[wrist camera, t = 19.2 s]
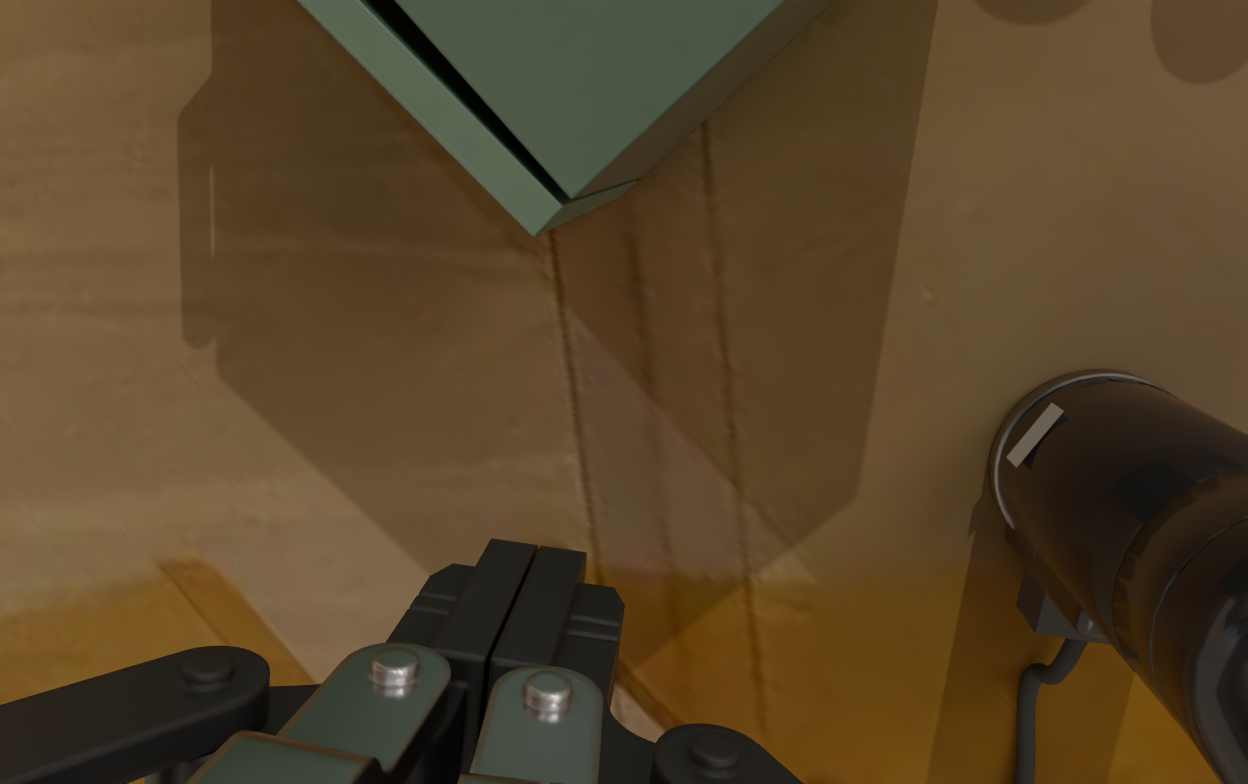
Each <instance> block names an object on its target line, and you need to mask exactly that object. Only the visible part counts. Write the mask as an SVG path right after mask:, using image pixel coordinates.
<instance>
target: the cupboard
mask: <svg viewBox="0 0 1248 784" xmlns="http://www.w3.org/2000/svg"><path fill="white" fill-rule="evenodd" d="M394 1H395V2H396V3H397V4H398V5H399V6H400V7H401V8H402V10H403V11H404V12H405V13H406V14H407V15H408V16H409V17H410V19H411V20H412V21H413V22H414V23H415V24H416V25H417V27H418V28H419V29H420V30H421V31H422V32H423V33H424V34H425V36H426V37H427V38H428V39H429V40H430V41H431V42H432V43H433V45H434V46H435V47H436V48H437V49H438V50H439V51H440V52H441V54H442V55H443V56H444V57H445V58H446V59H447V60H448V61H449V63H450V64H451V65H452V66H453V67H454V68H455V69H456V70H457V72H458V73H459V74H460V75H461V76H462V77H463V78H464V79H465V81H466V82H467V83H468V84H469V85H470V86H471V87H472V89H473V90H474V91H475V92H476V93H477V94H478V95H479V96H480V98H481V99H482V100H483V101H484V102H485V103H486V104H487V105H488V107H489V108H490V109H491V110H492V111H493V112H494V113H495V114H496V116H497V117H498V118H499V119H500V120H501V121H502V122H503V123H504V125H505V126H506V127H507V128H508V129H509V130H510V131H511V132H512V134H513V135H514V136H515V137H516V138H517V139H518V140H519V141H520V143H521V144H522V145H523V146H524V147H525V148H526V149H527V151H528V152H529V153H530V154H531V155H532V156H533V157H534V158H535V160H536V161H537V162H538V163H539V164H540V165H541V166H542V167H543V169H544V170H545V171H546V172H547V173H548V174H549V175H550V176H551V178H552V179H553V180H554V181H555V182H556V183H557V184H558V185H559V187H560V188H561V189H562V190H563V191H564V192H565V193H566V194H567V196H568V197H569V198H571V199H574V198H577V197H580V196H583V195H586V194H589V193H593V192H596V191H599V190H602V189H605V188H609V187H612V186H615V185H618V184H621V183H625V182H628V181H631V180H634V179H638V178H641V177H644V176H645V175H646V174H647V173H648V172H649V171H650V170H651V169H652V168H653V167H655V166H656V165H657V164H658V163H659V162H660V161H661V160H662V159H663V158H664V157H665V156H666V155H668V154H669V153H670V152H671V151H672V150H673V149H674V148H675V147H676V146H677V145H678V144H680V143H681V142H682V141H683V140H684V139H685V138H686V137H687V136H688V135H689V134H690V133H691V132H693V131H694V130H695V129H696V128H697V127H698V126H699V125H700V124H701V123H702V122H703V121H705V120H706V119H707V118H708V117H709V116H710V115H711V114H712V113H713V112H714V111H715V110H716V109H718V108H719V107H720V106H721V105H722V104H723V103H724V102H725V101H726V100H727V99H728V98H730V97H731V96H732V95H733V94H734V93H735V92H736V91H737V90H738V89H739V88H740V87H741V86H743V85H744V84H745V83H746V82H747V81H748V80H749V79H750V78H751V77H752V76H753V75H755V74H756V73H757V72H758V71H759V70H760V69H761V68H762V67H763V66H764V65H765V64H766V63H768V62H769V61H770V60H771V59H772V58H773V57H774V56H775V55H776V54H777V53H778V52H780V51H781V50H782V49H783V48H784V47H785V46H786V45H787V44H788V43H789V42H790V41H791V40H793V39H794V38H795V37H796V36H797V35H798V34H799V33H800V32H801V31H802V30H803V29H805V28H806V27H807V26H808V25H809V24H810V23H811V22H812V21H813V20H814V19H815V18H816V17H818V16H819V15H820V14H821V13H822V12H823V11H824V10H825V9H826V8H827V7H828V6H830V5H831V4H832V3H833V2H834V1H835V0H394Z"/></svg>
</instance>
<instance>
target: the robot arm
mask: <svg viewBox="0 0 1248 784" xmlns="http://www.w3.org/2000/svg"><path fill="white" fill-rule="evenodd" d="M989 478H990V485H991V490H992V493H993V497H994V499H995V502H996V504H997V506H998V508H999V510H1000V512H1001V513H1002V515H1003V517H1004V518H1005V519H1006V521H1007V531H1006V535H1005V541H1006V542H1007V544H1008V545H1009V546H1010V548H1011V549H1012V550H1013V551H1014V553H1015V554H1016V555H1017V557H1018V558H1019V559H1020V560H1021V562H1022V563H1023V564H1024V566H1025V567H1026V568H1025V572H1024V576H1023V580H1022V584H1021V588H1020V592H1019V596H1018V600H1017V604H1016V606H1017V607H1018V609H1019V610H1020V612H1021V613H1022V615H1023V616H1024V618H1025V619H1026V620H1027V622H1028V623H1029V625H1030V626H1031V628H1032V629H1033V631H1034V632H1035V633H1036V634H1042V635H1049V636H1055V637H1062V638H1066V639H1065V641H1064V643H1063V645H1062V647H1061V649H1060V651H1059V653H1058V655H1057V656H1056V658H1055V659H1054V661H1053V662H1052V663H1051V664H1050V665H1049V666H1047V665H1045V664H1042V663H1035V664H1032V665H1030V666H1029V667H1028V668H1027V670H1026V671H1025V673H1024V675H1023V677H1022V679H1021V683H1020V686H1019V692H1018V703H1017V765H1016V776H1015V784H1033V779H1034V766H1035V729H1034V717H1035V703H1036V696H1037V692H1038V689H1039V686H1040V684H1041V682H1042V683H1044V684H1048V685H1051V684H1058V683H1060V682H1061V681H1062V680H1063V679H1064V678H1065V677H1066V676H1067V675H1068V674H1069V673H1070V671H1071V670H1072V669H1073V667H1074V666H1075V664H1076V663H1077V661H1078V659H1079V658H1080V656H1081V654H1082V652H1083V650H1084V648H1085V646H1086V644H1087V643H1088V641H1089V642H1095V643H1102V644H1109V645H1112V646H1113V647H1114V648H1115V649H1116V650H1117V652H1118V653H1119V654H1120V655H1121V656H1122V658H1123V659H1124V660H1125V661H1126V662H1127V664H1128V665H1129V666H1130V667H1131V668H1132V670H1133V671H1134V672H1135V673H1136V674H1137V675H1138V676H1139V678H1140V679H1141V680H1142V681H1143V682H1144V684H1145V685H1146V686H1147V687H1148V688H1149V690H1150V691H1151V692H1152V693H1153V694H1154V696H1155V697H1156V698H1157V699H1158V701H1159V702H1160V703H1161V704H1162V705H1163V707H1164V708H1165V709H1166V710H1167V711H1168V713H1169V714H1170V715H1171V716H1172V717H1173V719H1174V720H1175V721H1176V722H1177V724H1178V725H1179V726H1180V727H1181V728H1182V730H1183V731H1184V732H1185V733H1186V734H1187V736H1188V737H1189V738H1190V740H1191V741H1192V742H1193V744H1194V745H1195V746H1196V748H1197V749H1198V750H1199V752H1200V753H1201V755H1202V756H1203V758H1204V759H1205V760H1206V762H1207V763H1208V765H1209V766H1210V768H1211V769H1212V771H1213V772H1214V774H1215V775H1216V777H1217V778H1218V780H1219V781H1220V783H1221V784H1248V434H1246V433H1244V432H1242V431H1240V430H1238V429H1236V428H1235V427H1233V426H1231V425H1229V424H1227V423H1225V422H1223V421H1221V420H1219V419H1217V418H1215V417H1213V416H1211V415H1209V414H1207V413H1205V412H1203V411H1201V410H1199V409H1197V408H1196V407H1194V406H1192V405H1190V404H1188V403H1186V402H1184V401H1182V400H1180V399H1178V398H1177V397H1175V396H1173V395H1172V394H1170V393H1169V392H1167V391H1166V390H1164V389H1163V388H1161V387H1159V386H1157V385H1155V384H1154V383H1152V382H1150V381H1148V380H1146V379H1144V378H1141V377H1139V376H1136V375H1134V374H1130V373H1127V372H1122V371H1117V370H1108V369H1092V370H1083V371H1077V372H1073V373H1069V374H1066V375H1063V376H1060V377H1057V378H1055V379H1053V380H1051V381H1048V382H1046V383H1044V384H1043V385H1041V386H1039V387H1038V388H1036V389H1035V390H1033V391H1032V392H1031V393H1029V394H1028V395H1027V396H1026V397H1024V398H1023V399H1022V400H1021V401H1020V402H1019V403H1018V404H1017V405H1016V406H1015V407H1014V408H1013V410H1012V411H1011V412H1010V413H1009V415H1008V416H1007V417H1006V419H1005V420H1004V422H1003V424H1002V425H1001V427H1000V429H999V431H998V433H997V435H996V438H995V440H994V443H993V447H992V450H991V456H990V464H989ZM586 560H587V553H586V552H580V551H574V550H567V549H560V548H554V547H547V546H540V548H539V549H538V545H533V544H526V543H520V542H513V541H506V540H500V539H493V538H492V539H491V540H490V542H489V544H488V545H487V547H486V549H485V551H484V552H483V554H482V556H481V557H480V559H479V561H478V563H477V564H476V566H475V567H473V566H466V565H460V564H451V565H449V566H448V567H446V568H444V569H442V570H440V571H438V572H437V573H435V574H433V575H431V576H430V577H429V579H428V580H427V582H426V583H425V585H424V586H423V588H422V589H421V590H420V592H419V596H416V598H415V599H414V601H413V602H412V604H411V605H410V609H408V610H407V611H406V613H405V614H404V616H403V617H402V619H401V620H400V622H399V623H398V625H397V626H396V628H395V629H394V631H393V632H392V634H391V635H390V637H389V638H388V640H387V641H386V643H381V644H375V645H371V646H367V647H364V648H361V649H359V650H357V651H355V652H353V653H351V654H350V655H348V656H347V657H346V658H345V659H344V660H343V661H342V662H341V663H340V664H339V665H338V666H337V667H336V669H335V670H334V671H333V672H332V673H331V674H330V675H329V676H328V677H327V679H326V680H325V681H324V682H323V683H322V684H317V685H302V686H273V687H270V668H269V665H268V663H267V662H266V661H265V659H264V658H262V657H261V656H260V655H258V654H256V653H254V652H252V651H250V650H246V649H243V648H238V647H231V646H207V647H199V648H193V649H189V650H185V651H181V652H178V653H175V654H171V655H168V656H164V657H161V658H158V659H154V660H151V661H148V662H144V663H141V664H137V665H134V666H131V667H127V668H124V669H121V670H117V671H114V672H110V673H107V674H104V675H100V676H97V677H94V678H90V679H87V680H83V681H80V682H77V683H73V684H70V685H67V686H63V687H60V688H56V689H53V690H50V691H46V692H43V693H40V694H36V695H33V696H29V697H26V698H23V699H19V700H16V701H13V702H9V703H6V704H2V705H0V784H127V783H130V782H132V781H135V780H137V779H140V778H143V777H145V784H803V783H802V782H801V781H800V780H799V779H798V778H797V777H795V776H794V775H793V774H792V773H791V772H790V771H789V770H787V769H786V768H785V767H784V766H783V765H782V764H781V763H779V762H778V761H777V760H776V759H775V758H774V757H773V756H771V755H770V754H769V753H768V752H767V751H766V750H765V749H763V748H762V747H761V746H760V745H759V744H757V743H756V742H755V741H754V740H752V739H751V738H749V737H747V736H745V735H744V734H742V733H739V732H737V731H735V730H732V729H729V728H726V727H722V726H718V725H711V724H686V725H682V726H678V727H675V728H672V729H670V730H668V731H667V732H665V733H664V734H663V735H662V736H661V737H660V738H659V739H658V741H657V742H656V743H654V742H651V741H648V740H646V739H644V738H642V737H639V736H637V735H635V734H634V733H632V732H630V731H629V730H627V729H626V728H625V727H623V726H622V725H621V724H620V723H619V722H618V721H617V720H616V719H615V718H614V716H613V715H612V714H611V712H610V707H611V702H612V696H613V690H614V683H615V675H616V668H617V660H618V653H619V645H620V638H621V630H622V623H623V615H624V608H625V605H624V603H623V602H622V600H621V598H620V597H619V595H618V593H617V591H616V590H615V588H612V587H605V586H599V585H592V584H585V583H584V579H585V571H586Z"/></svg>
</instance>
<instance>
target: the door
mask: <svg viewBox="0 0 1248 784" xmlns="http://www.w3.org/2000/svg"><path fill="white" fill-rule="evenodd" d="M297 1H298V2H299V3H300V4H301V5H302V6H303V7H304V8H305V9H306V10H307V11H308V13H309V14H310V15H311V16H312V17H313V18H314V19H315V20H316V21H317V22H318V23H319V24H320V25H321V26H322V27H323V28H324V29H325V30H326V31H327V32H328V33H329V34H330V35H331V36H332V37H333V38H334V39H335V40H336V41H337V42H338V43H339V44H340V45H341V46H342V47H343V48H344V49H345V50H346V51H347V52H348V53H349V54H350V55H351V56H352V57H353V58H354V59H355V60H356V61H357V62H358V63H359V64H360V65H361V66H362V67H363V68H364V69H365V70H366V71H367V72H368V73H369V74H370V75H371V76H372V77H373V78H374V79H375V80H376V81H377V82H378V83H379V84H380V85H381V86H382V87H383V88H384V89H385V90H386V91H387V92H388V93H389V94H390V95H391V96H392V97H393V98H394V99H395V100H396V101H397V102H398V103H399V104H400V105H401V106H402V107H403V108H404V109H405V110H406V111H407V112H408V113H409V114H410V115H411V116H412V117H413V118H414V119H415V120H416V121H417V122H418V123H419V124H420V125H421V126H422V127H423V128H424V129H425V130H426V131H427V132H428V133H429V134H430V135H431V136H432V137H433V138H434V139H435V140H436V141H437V142H438V143H439V144H440V145H441V146H442V147H443V148H444V149H445V150H446V151H447V152H448V153H449V154H450V155H451V156H452V157H453V158H454V159H455V160H456V161H457V162H458V163H459V164H460V165H461V166H462V167H463V168H464V169H465V170H466V171H467V172H468V173H469V174H470V175H471V176H472V177H473V178H474V179H475V180H476V181H477V182H478V183H479V184H480V185H481V186H482V187H483V188H484V189H485V190H486V191H487V192H488V193H489V194H490V195H491V196H492V197H493V198H494V199H495V200H496V201H497V202H498V203H499V204H500V205H501V206H502V207H503V208H504V209H505V210H506V211H507V212H508V213H509V214H510V215H511V216H512V217H513V218H514V219H515V220H516V221H517V222H518V223H519V224H520V225H521V226H522V227H523V228H524V229H525V230H526V231H527V232H528V233H529V234H530V235H531V236H532V237H535V236H537V235H539V234H542V233H544V232H546V231H548V230H550V229H552V228H555V227H557V226H559V225H561V224H563V223H565V222H567V221H570V220H572V219H574V218H576V217H578V216H580V215H583V214H585V213H587V212H589V211H591V210H593V209H596V208H598V207H600V206H602V205H604V204H606V203H609V202H611V201H613V200H615V199H617V198H619V197H621V196H624V195H625V194H626V193H627V192H628V190H629V189H630V188H631V187H632V186H633V185H634V184H635V183H636V182H637V180H636V179H634V180H631V181H628V182H625V183H621V184H618V185H615V186H612V187H609V188H605V189H602V190H599V191H596V192H593V193H589V194H586V195H583V196H580V197H577V198H574V199H571V198H569V197H568V196H567V194H566V193H565V192H564V191H563V190H562V189H561V188H560V187H559V185H558V184H557V183H556V182H555V181H554V180H553V179H552V178H551V176H550V175H549V174H548V173H547V172H546V171H545V170H544V169H543V167H542V166H541V165H540V164H539V163H538V162H537V161H536V160H535V158H534V157H533V156H532V155H531V154H530V153H529V152H528V151H527V149H526V148H525V147H524V146H523V145H522V144H521V143H520V141H519V140H518V139H517V138H516V137H515V136H514V135H513V134H512V132H511V131H510V130H509V129H508V128H507V127H506V126H505V125H504V123H503V122H502V121H501V120H500V119H499V118H498V117H497V116H496V114H495V113H494V112H493V111H492V110H491V109H490V108H489V107H488V105H487V104H486V103H485V102H484V101H483V100H482V99H481V98H480V96H479V95H478V94H477V93H476V92H475V91H474V90H473V89H472V87H471V86H470V85H469V84H468V83H467V82H466V81H465V79H464V78H463V77H462V76H461V75H460V74H459V73H458V72H457V70H456V69H455V68H454V67H453V66H452V65H451V64H450V63H449V61H448V60H447V59H446V58H445V57H444V56H443V55H442V54H441V52H440V51H439V50H438V49H437V48H436V47H435V46H434V45H433V43H432V42H431V41H430V40H429V39H428V38H427V37H426V36H425V34H424V33H423V32H422V31H421V30H420V29H419V28H418V27H417V25H416V24H415V23H414V22H413V21H412V20H411V19H410V17H409V16H408V15H407V14H406V13H405V12H404V11H403V10H402V8H401V7H400V6H399V5H398V4H397V3H396V2H395V1H394V0H297Z"/></svg>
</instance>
